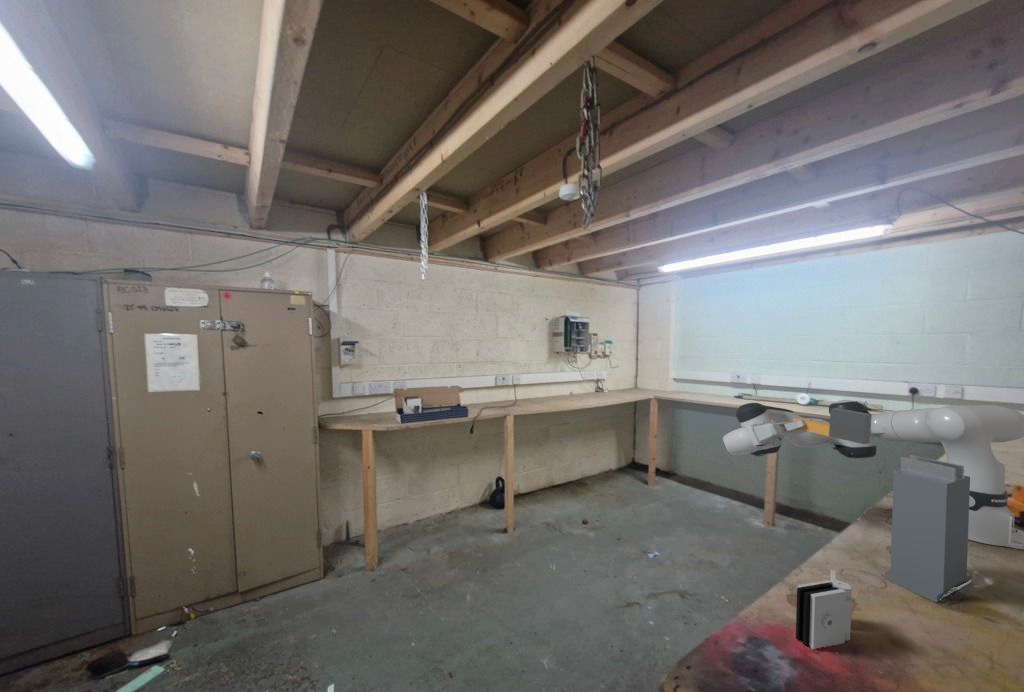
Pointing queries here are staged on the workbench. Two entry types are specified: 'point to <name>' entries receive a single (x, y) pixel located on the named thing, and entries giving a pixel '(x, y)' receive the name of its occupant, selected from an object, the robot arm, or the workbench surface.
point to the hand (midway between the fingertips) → (808, 422)
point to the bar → (842, 425)
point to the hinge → (823, 612)
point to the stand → (929, 527)
